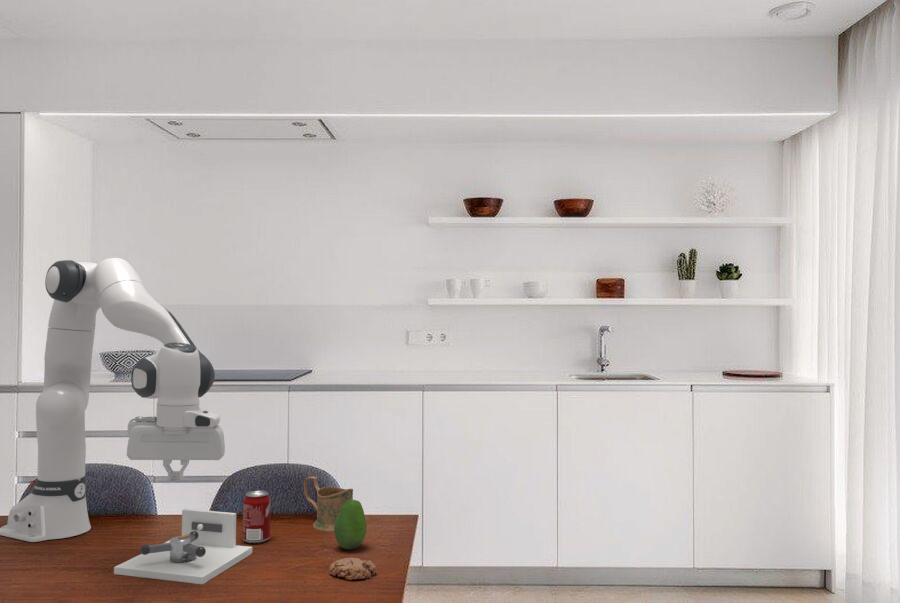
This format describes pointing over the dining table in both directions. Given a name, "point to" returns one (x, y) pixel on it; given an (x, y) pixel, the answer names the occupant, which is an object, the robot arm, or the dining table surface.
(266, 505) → the soda can
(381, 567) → the dining table surface
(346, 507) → the fruit
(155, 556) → the stand
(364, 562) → the cookie
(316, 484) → the tan ceramic pitcher
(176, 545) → the capstan
